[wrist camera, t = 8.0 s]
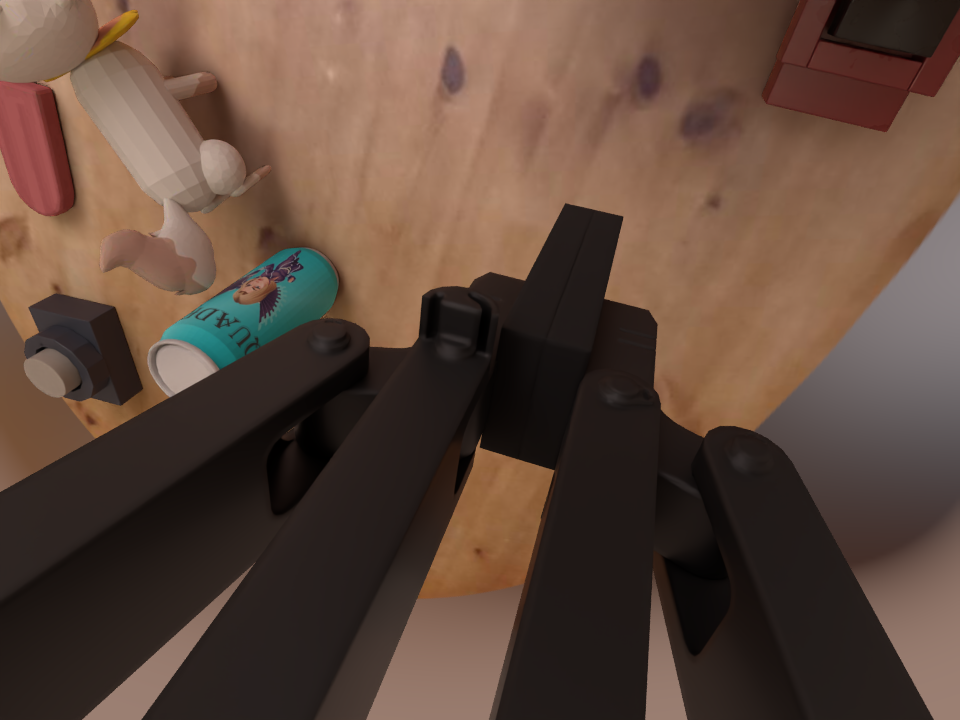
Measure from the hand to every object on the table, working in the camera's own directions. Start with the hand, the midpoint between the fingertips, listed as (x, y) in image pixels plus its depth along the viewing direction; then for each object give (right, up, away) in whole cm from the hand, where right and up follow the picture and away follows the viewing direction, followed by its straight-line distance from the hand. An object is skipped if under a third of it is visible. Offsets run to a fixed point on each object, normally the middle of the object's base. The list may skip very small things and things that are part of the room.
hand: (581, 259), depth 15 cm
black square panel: (+15, +13, +10) cm, 22 cm away
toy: (-21, +15, +26) cm, 37 cm away
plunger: (-43, -3, +40) cm, 59 cm away
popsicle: (-38, +16, +31) cm, 52 cm away
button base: (-41, -1, +44) cm, 60 cm away
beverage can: (-16, +4, +31) cm, 35 cm away
